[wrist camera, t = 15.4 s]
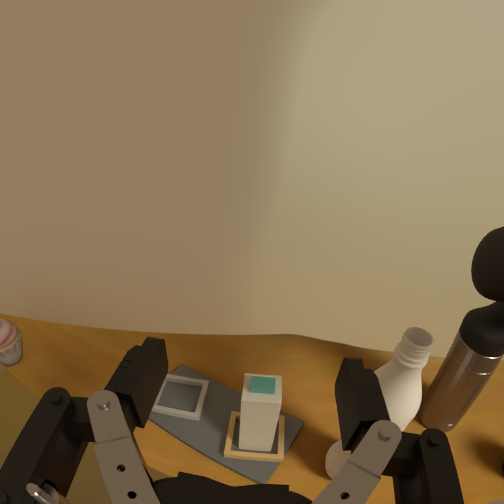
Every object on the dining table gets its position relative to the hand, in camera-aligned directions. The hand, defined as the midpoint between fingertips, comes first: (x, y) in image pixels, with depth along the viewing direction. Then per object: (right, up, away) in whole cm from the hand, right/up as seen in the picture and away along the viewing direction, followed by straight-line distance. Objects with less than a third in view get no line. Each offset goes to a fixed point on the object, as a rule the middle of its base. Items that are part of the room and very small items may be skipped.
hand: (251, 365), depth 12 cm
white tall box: (+1, -22, +24) cm, 33 cm away
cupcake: (-51, -17, +30) cm, 61 cm away
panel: (-6, -21, +27) cm, 35 cm away
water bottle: (+13, -26, +19) cm, 35 cm away
